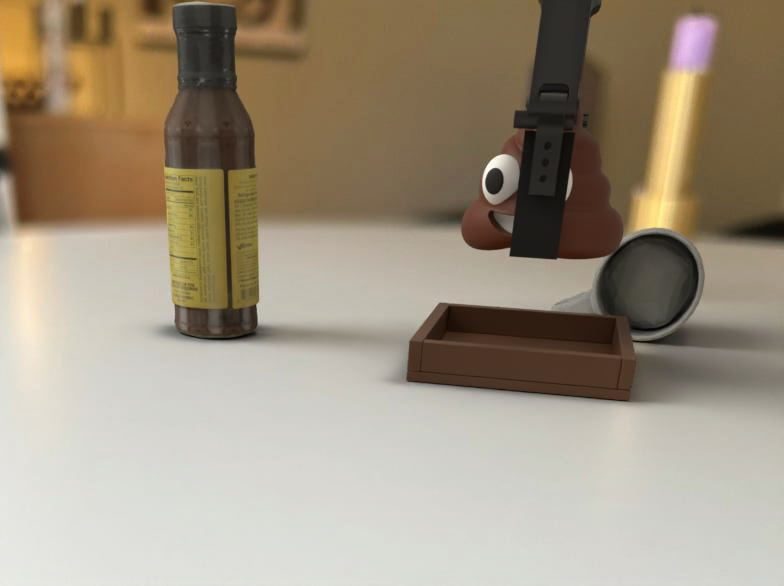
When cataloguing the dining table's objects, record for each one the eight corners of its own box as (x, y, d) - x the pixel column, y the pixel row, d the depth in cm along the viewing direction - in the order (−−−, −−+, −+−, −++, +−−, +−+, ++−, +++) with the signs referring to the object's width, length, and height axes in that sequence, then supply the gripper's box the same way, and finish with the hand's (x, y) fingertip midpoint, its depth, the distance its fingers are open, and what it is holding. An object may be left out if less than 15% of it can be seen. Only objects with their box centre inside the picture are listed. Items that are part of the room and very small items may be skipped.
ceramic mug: (690, 326, 79) (710, 221, 75) (692, 346, 72) (714, 231, 68) (554, 316, 82) (567, 215, 78) (543, 334, 75) (557, 224, 71)
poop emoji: (637, 253, 63) (667, 83, 58) (589, 266, 56) (619, 77, 52) (491, 238, 67) (509, 81, 63) (433, 249, 61) (448, 74, 57)
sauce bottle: (244, 321, 75) (244, 10, 66) (270, 338, 70) (275, 4, 61) (160, 324, 73) (149, 4, 64) (181, 342, 68) (172, -3, 59)
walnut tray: (621, 351, 70) (627, 316, 69) (629, 401, 58) (636, 359, 57) (436, 336, 72) (439, 302, 71) (406, 380, 60) (409, 340, 59)
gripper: (535, -167, 61) (490, 227, 72) (513, -292, 42) (456, 266, 53) (662, -169, 60) (597, 233, 70) (697, -299, 41) (601, 276, 52)
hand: (536, 247), depth 62 cm, fingers closed on poop emoji, 9 cm apart
